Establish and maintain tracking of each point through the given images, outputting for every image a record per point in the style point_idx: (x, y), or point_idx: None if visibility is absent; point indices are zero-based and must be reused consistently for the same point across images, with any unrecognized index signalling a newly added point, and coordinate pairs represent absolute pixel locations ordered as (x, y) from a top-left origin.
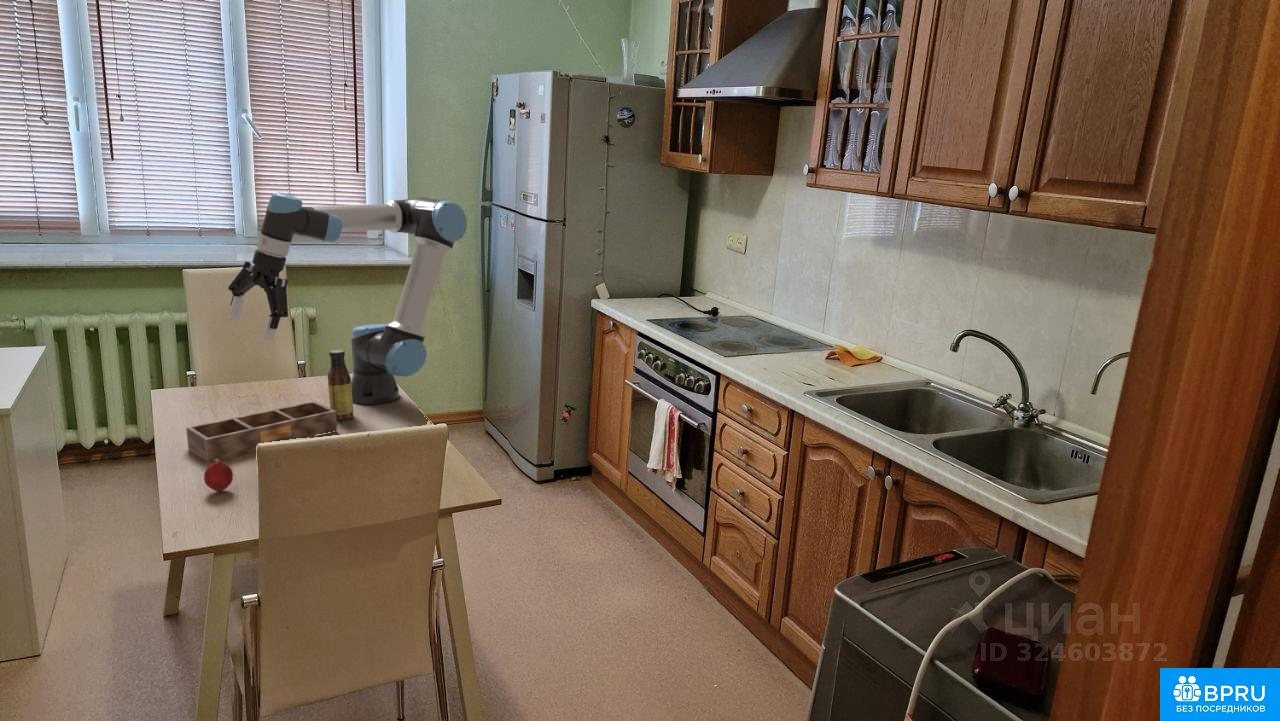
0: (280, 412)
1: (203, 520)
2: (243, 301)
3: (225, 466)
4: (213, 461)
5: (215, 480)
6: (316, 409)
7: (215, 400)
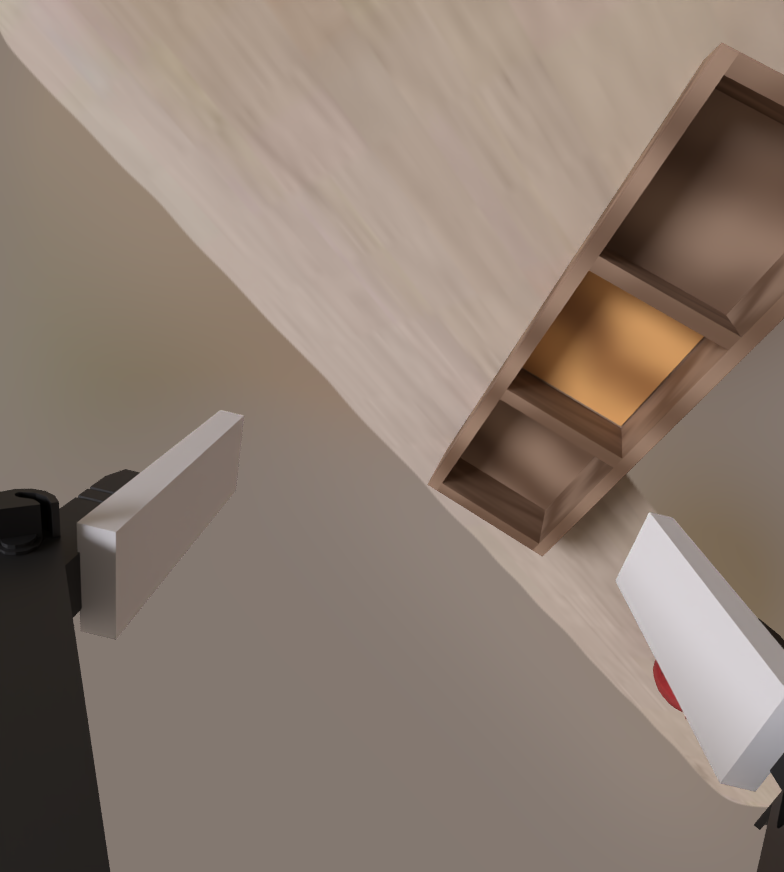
0: (631, 285)
1: None
2: (149, 504)
3: None
4: (685, 717)
5: None
6: (751, 95)
7: (179, 26)
